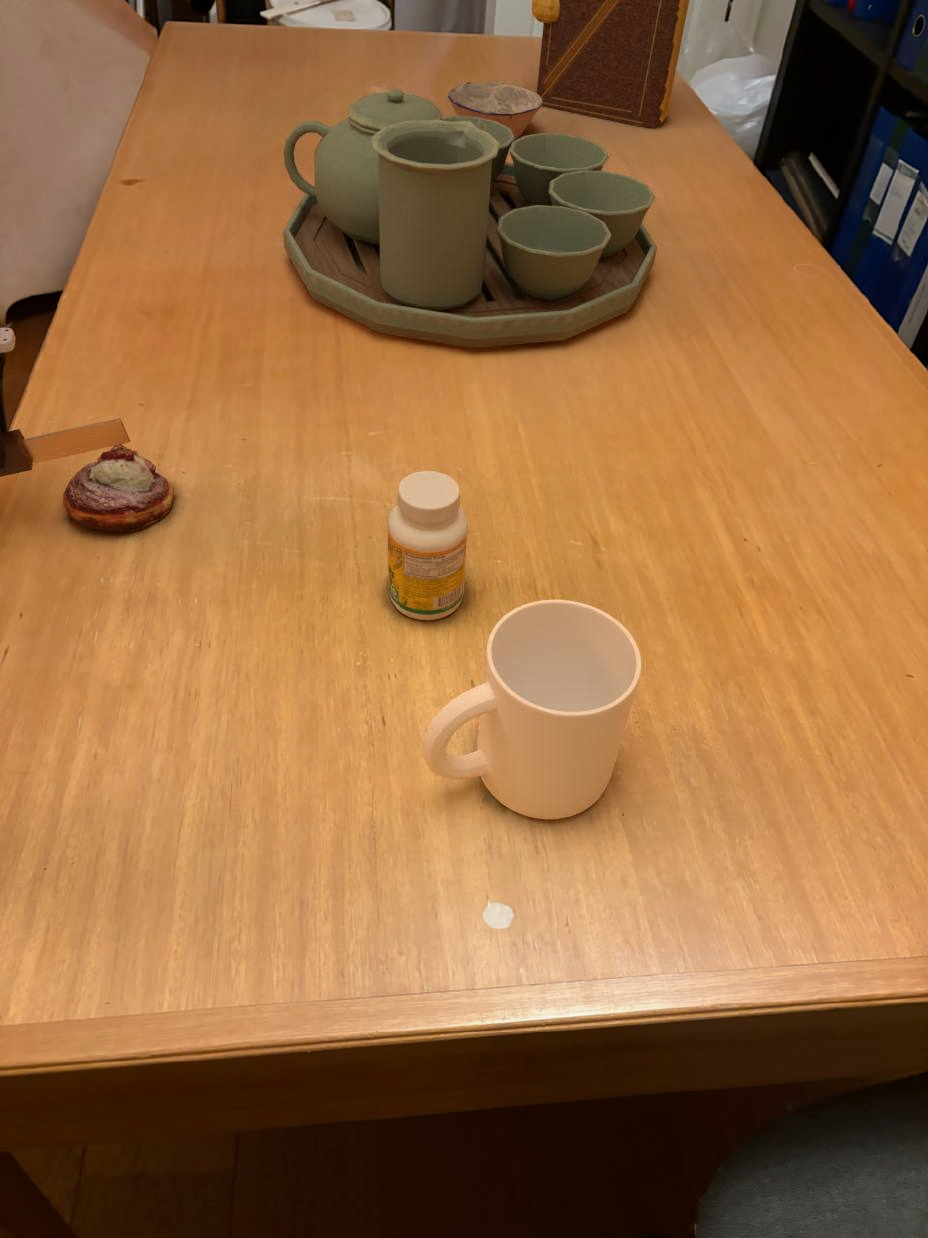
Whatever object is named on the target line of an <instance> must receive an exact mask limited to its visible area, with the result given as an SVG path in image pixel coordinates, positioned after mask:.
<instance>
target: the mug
mask: <svg viewBox="0 0 928 1238" xmlns="http://www.w3.org/2000/svg"><path fill="white" fill-rule="evenodd" d="M641 656H642V655H641V652H640V650H639V647H638V644H637V642H636V641H635V639H634V637H633V635H632V634H631V633H630V632H629V630H628V629H627V628H626V627H625V626H624V625H623V624H622V623H621V622H620V621H619V620H617V619H616V618H615V617H613V616H612V615H611V614H608V612H606V611H603V610H601V609H599V608H598V607H595V606H592V605H589V604H587V603H583V602H579V601H574V600H568V599H543V600H542V599H541V600H537V601H532V602H529V603H525V604H522V605H520V606H518V607H516V608H514V609H511V610H510V611H508V612H507V613H506V614H505V615H504V616H502V617H501V618H500V619H499V621H497V623H496V624H495V625H494V627H493V628H492V630H491V631H490V633H489V636H488V638H487V643H486V650H485V659H484V660H485V661H484V669H483V681H482V683H481V684H479V685H476V686H473V687H472V688H469V689H467V690H466V691H464V692H462V693H460V694H459V695H457V696H455V697H454V698H452V699H451V700H450V701H449V702H448V703H446V705H444V706H443V707H442V708H441V709H440V710H439V711H438V712H437V713H436V714H435V716H434V717H433V719H432V720H431V721H430V723H429V725H428V727H427V729H426V730H425V734H424V738H423V743H422V755H423V759H424V763H425V764H426V766H427V767H428V768H429V770H430V771H431V772H432V773H434V774H435V775H436V776H439V777H441V778H443V779H447V780H458V781H460V780H467V779H472V778H477V777H480V778H481V781H482V783H483V784H484V786H485V787H486V788H487V790H488V791H489V793H490V794H491V795H492V796H493V797H494V798H495V799H496V800H497V801H498V802H499V803H501V804H502V805H503V806H505V807H506V808H508V809H509V810H511V811H513V812H515V813H517V814H520V815H522V816H526V817H528V818H533V819H539V820H558V819H559V820H561V819H566V818H570V817H572V816H575V815H578V814H580V813H582V812H584V811H585V810H587V809H588V808H590V807H591V806H593V805H594V804H595V803H596V802H597V801H598V800H599V799H600V798H601V797H602V795H603V794H604V792H605V791H606V789H607V787H608V785H609V783H610V780H611V778H612V775H613V771H614V768H615V765H616V762H617V758H618V756H619V755H618V754H619V751H620V748H621V744H622V741H623V737H624V734H625V732H626V731H625V730H626V727H627V724H628V719H629V716H630V714H631V710H632V707H633V703H634V699H635V696H636V693H637V689H638V685H639V682H640V680H641V679H640V678H641V675H642V668H643V667H642V657H641ZM477 717H479V720H478V730H477V739H476V750H475V751H473V752H469V753H466V754H461V755H451V754H448V751H447V749H448V745H449V743H450V741H451V739H452V737H453V736H454V734H455V733H456V732H457V731H458V730H460V728H461V727H462V726H464V725H465V724H466V723H468V722H469V721H471V720H473V719H475V718H477Z"/></svg>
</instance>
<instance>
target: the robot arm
mask: <svg viewBox="0 0 928 1238" xmlns="http://www.w3.org/2000/svg"><path fill="white" fill-rule="evenodd" d="M15 346H16V336H15V332H14V330H13V328H10V327H0V469H3V468H4V465H5V450H4V444H3V438H2V434H1V433H3V432H7V431H9V430H8V421H7V414H6V406H5V399H4V398H5V397H4V370H5V365H6V361H7V355H8V353H9V352H12V351H13V350H14V349H15Z"/></svg>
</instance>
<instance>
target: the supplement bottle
mask: <svg viewBox="0 0 928 1238" xmlns="http://www.w3.org/2000/svg"><path fill="white" fill-rule="evenodd" d="M396 501H397V503H396V505H395V506H394V507H393V508H392V510H391V511H390V514H389V516H388V520H387V558H388V559H387V561H388V564H387V565H388V567H387V568H388V569H387V570H388V571H387V572H388V584H387V585H388V595H389V599H390V601H391V603H392V605H394V607H395V608H396V610H398V611H399V612H400V613H401V614H403V615H404V616H405V617H406V616H407V617H408V618H411V619H415V620H420V621H436V620H439V619H443V618H446V617H447V616H449V615H451V614H453V613H454V612H455V610H457V609H458V608H459V606H460V605H461V604H462V601H463V598H464V593H465V592H464V591H465V590H464V589H465V576H466V559H467V546H468V532H469V521H468V517H467V514H466V513H465V511H464V510H463V508H462V507H461V489H460V485H459V484H458V483H457V481H456V480H455V479H454V478H453V477H452V476H449V475H448V474H445V473H443V472H440V471H435V470H420V471H416V472H412V473H410V474H407V475H406V476H405V477H404V478H402V480H401V481H400V482H399V483H398V487H397V500H396Z"/></svg>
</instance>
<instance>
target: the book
mask: <svg viewBox="0 0 928 1238" xmlns="http://www.w3.org/2000/svg"><path fill="white" fill-rule="evenodd" d="M689 5H690V0H532V1H531V13H532V16H533V17H534V18H535V20H537V22H539V23H543V25H542V35H541V45H540V56H539V65H538V76H537V86H536V93H537V94H538V95H539V96H540V97H541V98H542V100H543V101H542V106H541V107H546V108H551V109H555V110H560V111H564V112H570V113H575V114H579V115H583V116H584V115H585V116H589V117H593V118H594V117H595V118H598V119H603V120H607V121H612V122H618V123H622V124H627V125H632V126H635V127H641V128H647V129H649V128H650V129H657V128H660V127H662V126H663V125H664V124H665V123H666V122H667V118H668V113H669V107H670V103H671V96H672V92H673V88H674V87H673V86H674V83H675V76H676V71H677V67H678V62H679V56H680V51H681V45H682V41H683V35H684V31H685V26H686V19H687V15H688V10H689Z"/></svg>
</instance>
